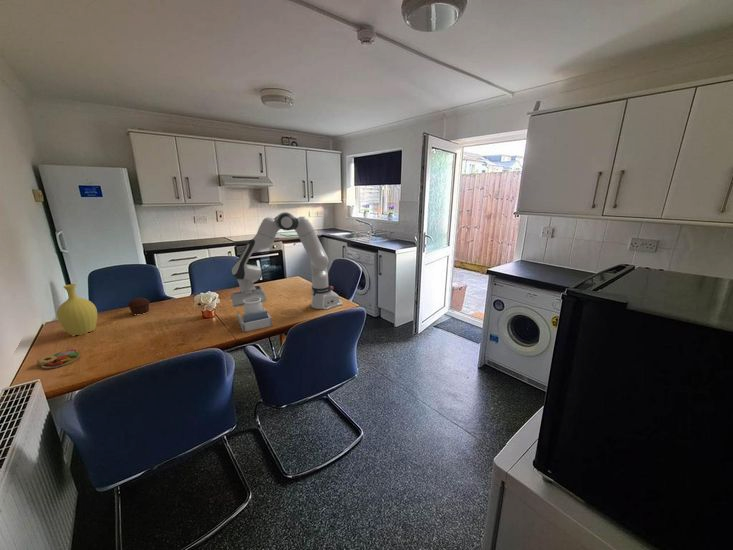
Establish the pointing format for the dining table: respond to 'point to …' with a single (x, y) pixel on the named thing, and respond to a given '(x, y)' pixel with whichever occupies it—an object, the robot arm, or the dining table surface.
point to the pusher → (255, 316)
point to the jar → (252, 305)
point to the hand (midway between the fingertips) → (251, 310)
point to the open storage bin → (255, 323)
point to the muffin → (139, 306)
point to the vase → (77, 313)
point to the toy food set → (58, 359)
